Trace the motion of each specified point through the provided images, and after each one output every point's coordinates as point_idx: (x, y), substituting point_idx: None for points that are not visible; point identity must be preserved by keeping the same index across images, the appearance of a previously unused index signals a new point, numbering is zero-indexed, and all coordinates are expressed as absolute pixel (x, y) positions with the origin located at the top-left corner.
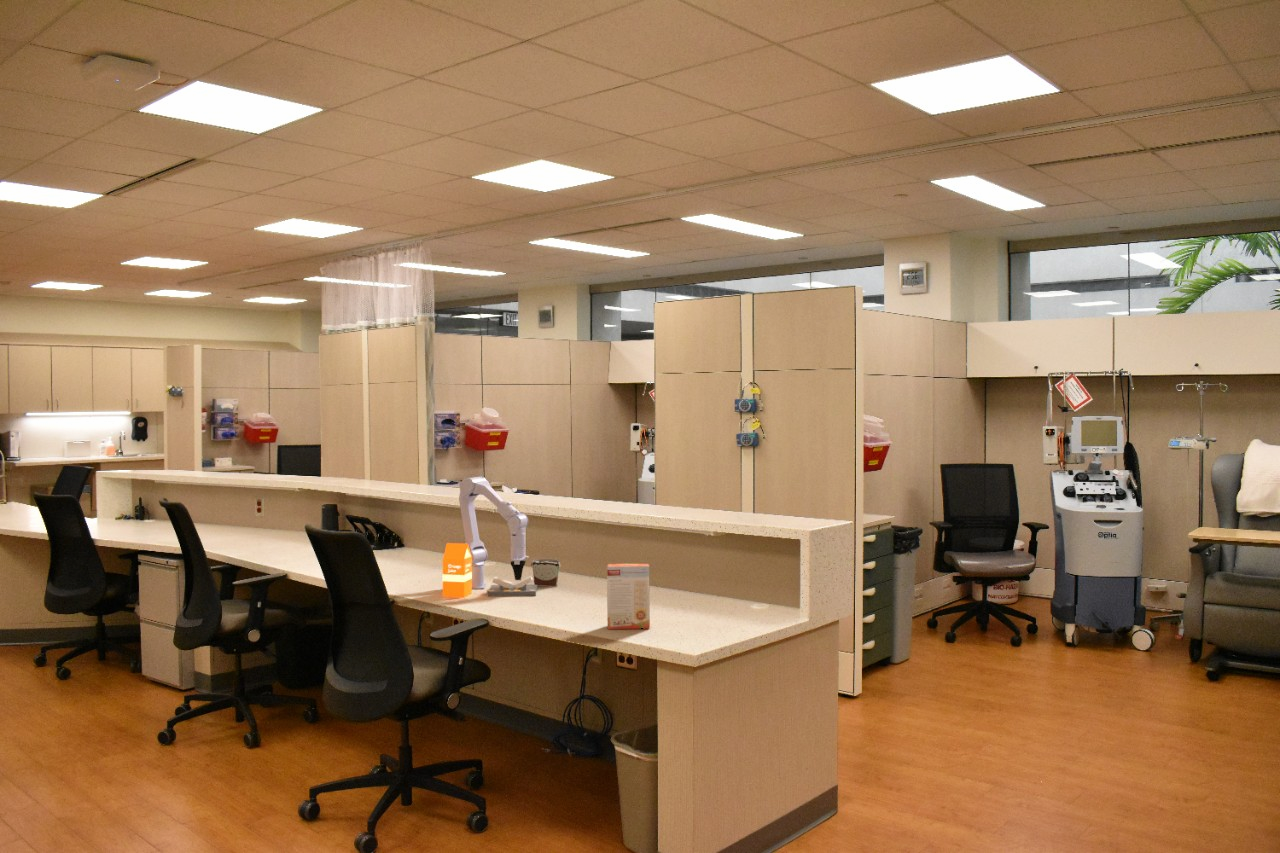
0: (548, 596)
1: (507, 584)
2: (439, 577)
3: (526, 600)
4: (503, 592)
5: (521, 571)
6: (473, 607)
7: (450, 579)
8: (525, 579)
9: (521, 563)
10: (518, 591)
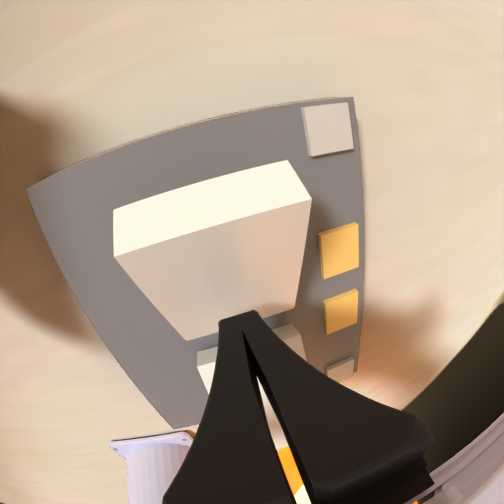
0: (337, 4)
1: (304, 354)
2: (91, 498)
3: (445, 140)
4: (360, 314)
5: (312, 371)
6: (484, 301)
7: None
8: (261, 262)
9: (426, 450)
10: (355, 235)
